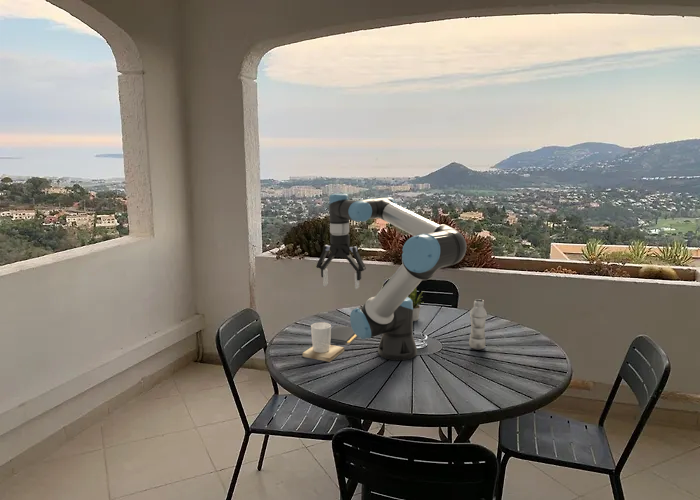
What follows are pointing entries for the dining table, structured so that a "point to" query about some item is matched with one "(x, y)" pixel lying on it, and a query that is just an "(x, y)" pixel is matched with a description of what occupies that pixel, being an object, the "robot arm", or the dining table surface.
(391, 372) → the dining table surface
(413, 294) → the house plant
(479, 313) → the plastic bottle
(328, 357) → the oak coaster board
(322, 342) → the white cup
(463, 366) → the dining table surface
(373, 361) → the dining table surface
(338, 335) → the black book
